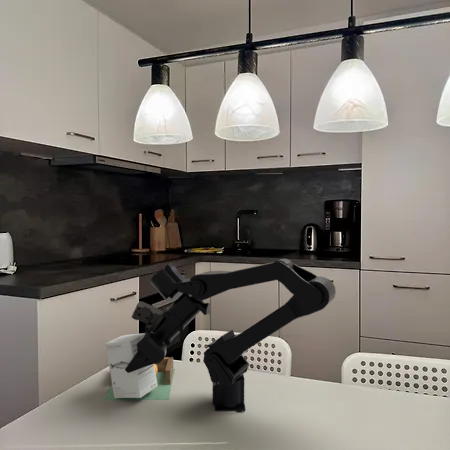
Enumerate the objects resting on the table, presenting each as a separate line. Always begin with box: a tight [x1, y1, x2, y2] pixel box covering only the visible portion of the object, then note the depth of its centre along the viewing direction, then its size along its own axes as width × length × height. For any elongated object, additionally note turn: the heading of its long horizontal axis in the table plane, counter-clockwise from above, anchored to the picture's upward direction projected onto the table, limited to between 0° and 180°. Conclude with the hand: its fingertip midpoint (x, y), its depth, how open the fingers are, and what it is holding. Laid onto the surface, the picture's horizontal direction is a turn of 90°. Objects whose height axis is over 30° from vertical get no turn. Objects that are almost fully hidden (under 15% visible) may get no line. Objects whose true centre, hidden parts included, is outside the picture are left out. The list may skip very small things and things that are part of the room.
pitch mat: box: [102, 368, 176, 402], centre depth 103 cm, size 14×18×1 cm
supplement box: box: [104, 332, 158, 399], centre depth 97 cm, size 7×7×13 cm
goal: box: [109, 356, 174, 387], centre depth 107 cm, size 14×9×4 cm, turn 92°
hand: (130, 363), depth 96 cm, fingers closed on supplement box, 9 cm apart
